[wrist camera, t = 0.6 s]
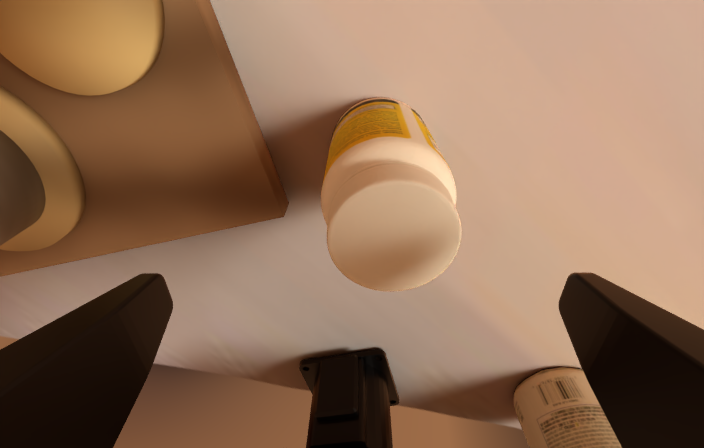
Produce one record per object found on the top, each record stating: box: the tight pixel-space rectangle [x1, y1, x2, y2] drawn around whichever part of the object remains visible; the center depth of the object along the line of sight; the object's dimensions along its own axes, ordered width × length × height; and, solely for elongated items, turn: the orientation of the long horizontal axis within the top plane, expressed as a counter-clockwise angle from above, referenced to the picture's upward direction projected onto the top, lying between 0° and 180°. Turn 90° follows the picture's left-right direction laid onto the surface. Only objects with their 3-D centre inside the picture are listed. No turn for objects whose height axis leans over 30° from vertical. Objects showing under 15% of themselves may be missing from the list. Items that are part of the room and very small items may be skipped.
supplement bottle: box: [321, 97, 462, 291], centre depth 14 cm, size 5×5×8 cm
